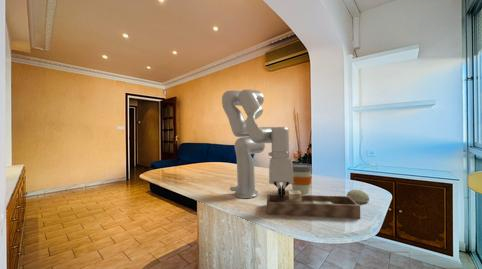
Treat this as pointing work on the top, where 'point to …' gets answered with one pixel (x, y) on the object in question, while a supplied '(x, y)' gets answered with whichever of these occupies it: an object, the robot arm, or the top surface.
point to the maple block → (295, 196)
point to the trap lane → (314, 206)
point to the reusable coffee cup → (302, 177)
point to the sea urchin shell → (358, 196)
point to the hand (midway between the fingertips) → (281, 196)
